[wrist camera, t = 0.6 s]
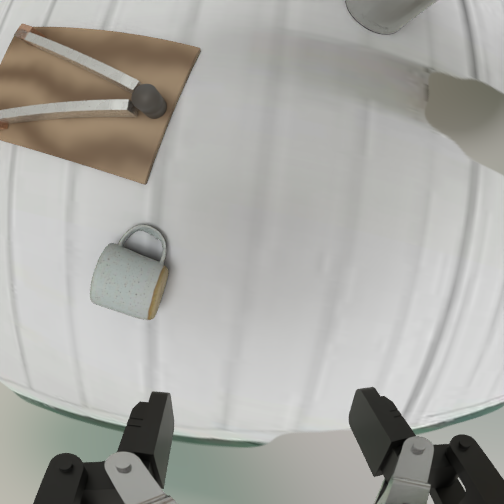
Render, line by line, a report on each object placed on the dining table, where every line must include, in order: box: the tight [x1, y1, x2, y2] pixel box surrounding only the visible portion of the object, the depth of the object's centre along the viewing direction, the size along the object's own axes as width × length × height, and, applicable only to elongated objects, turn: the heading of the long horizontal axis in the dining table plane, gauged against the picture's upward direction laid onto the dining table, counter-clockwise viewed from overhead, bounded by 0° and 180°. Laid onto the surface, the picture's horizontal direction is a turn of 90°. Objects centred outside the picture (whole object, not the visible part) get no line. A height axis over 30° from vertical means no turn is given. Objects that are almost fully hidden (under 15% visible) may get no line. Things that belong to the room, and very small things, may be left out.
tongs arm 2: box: [0, 99, 139, 130], centre depth 29 cm, size 24×2×4 cm, turn 83°
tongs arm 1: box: [14, 24, 142, 93], centre depth 27 cm, size 24×2×4 cm, turn 57°
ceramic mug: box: [90, 225, 168, 320], centre depth 33 cm, size 10×8×7 cm
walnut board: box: [0, 27, 201, 184], centre depth 28 cm, size 18×32×6 cm, turn 70°
